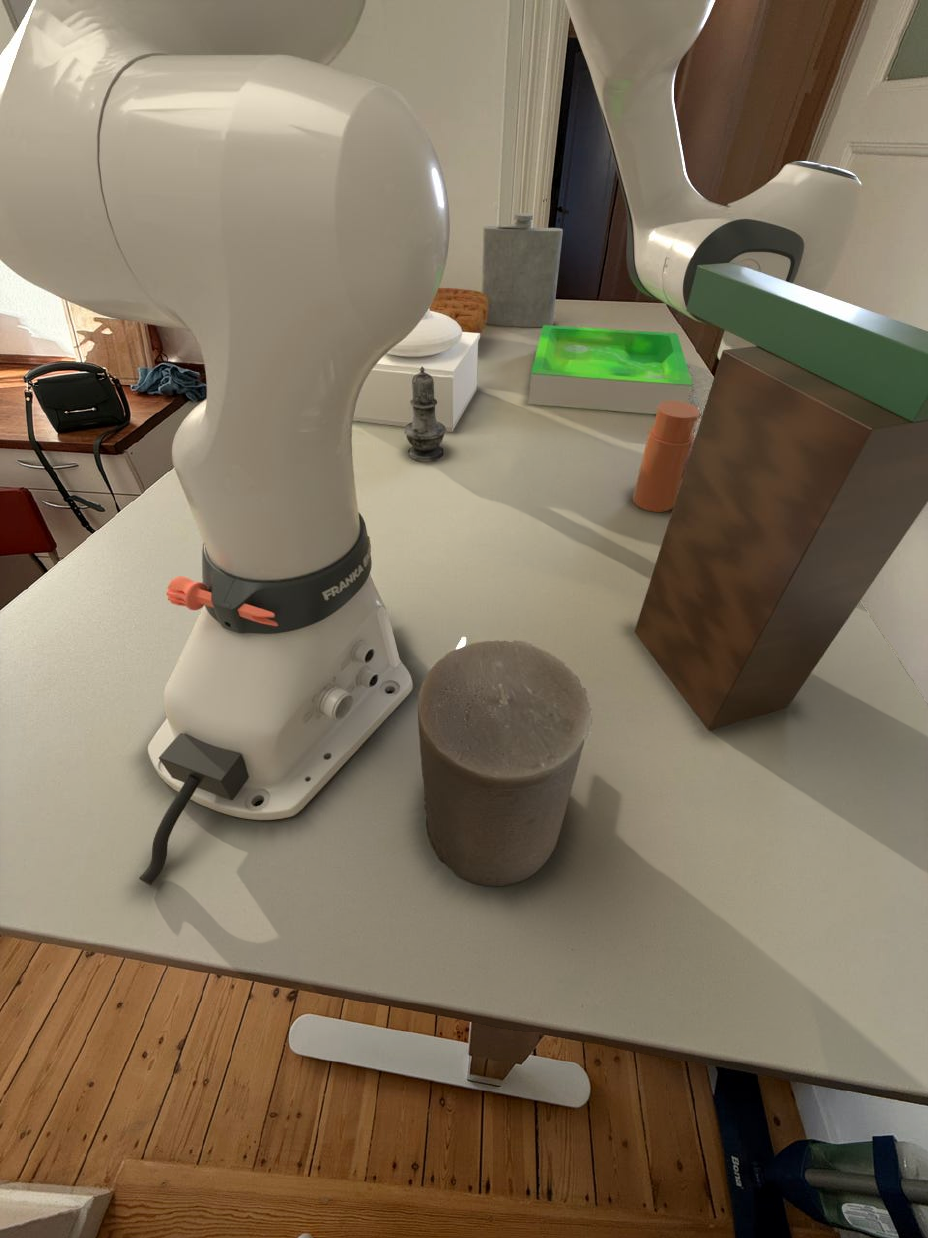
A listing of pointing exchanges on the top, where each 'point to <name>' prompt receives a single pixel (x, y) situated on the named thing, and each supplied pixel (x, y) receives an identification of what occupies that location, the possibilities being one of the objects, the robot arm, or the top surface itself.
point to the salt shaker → (424, 421)
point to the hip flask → (520, 272)
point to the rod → (819, 335)
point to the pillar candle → (499, 757)
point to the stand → (776, 533)
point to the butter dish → (441, 357)
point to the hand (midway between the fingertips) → (722, 456)
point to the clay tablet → (462, 307)
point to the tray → (608, 369)
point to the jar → (666, 456)
